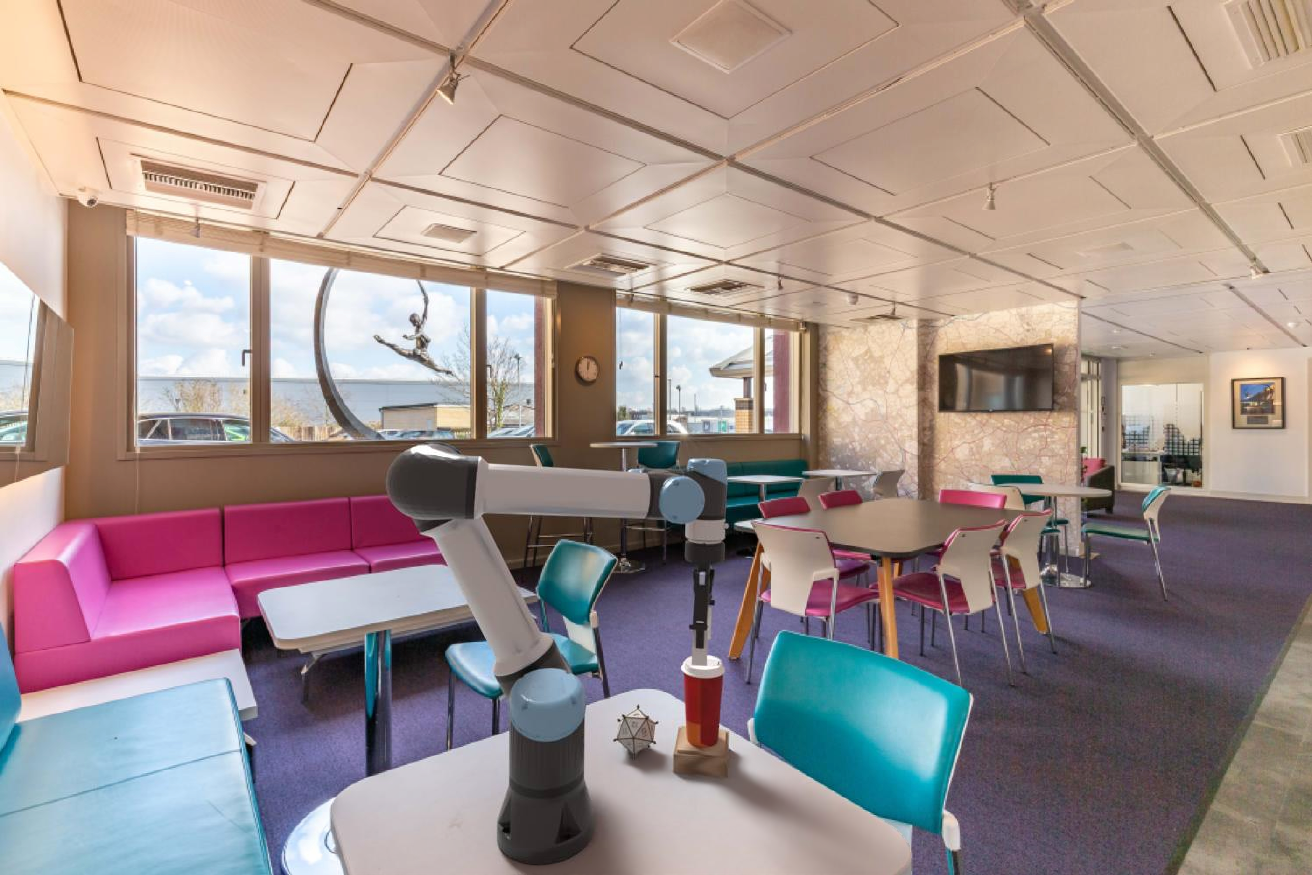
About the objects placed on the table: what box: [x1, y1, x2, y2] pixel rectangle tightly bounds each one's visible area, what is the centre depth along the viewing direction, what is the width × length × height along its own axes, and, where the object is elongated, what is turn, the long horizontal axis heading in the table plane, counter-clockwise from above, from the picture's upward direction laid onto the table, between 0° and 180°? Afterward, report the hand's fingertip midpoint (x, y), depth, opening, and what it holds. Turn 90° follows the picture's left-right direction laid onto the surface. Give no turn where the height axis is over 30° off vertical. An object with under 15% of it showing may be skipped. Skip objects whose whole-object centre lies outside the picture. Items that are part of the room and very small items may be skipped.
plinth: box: [672, 725, 730, 778], centre depth 116 cm, size 10×10×4 cm
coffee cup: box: [680, 654, 726, 748], centre depth 115 cm, size 8×8×15 cm
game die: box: [612, 704, 660, 760], centre depth 118 cm, size 9×8×10 cm
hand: (701, 651), depth 115 cm, fingers open, 13 cm apart
